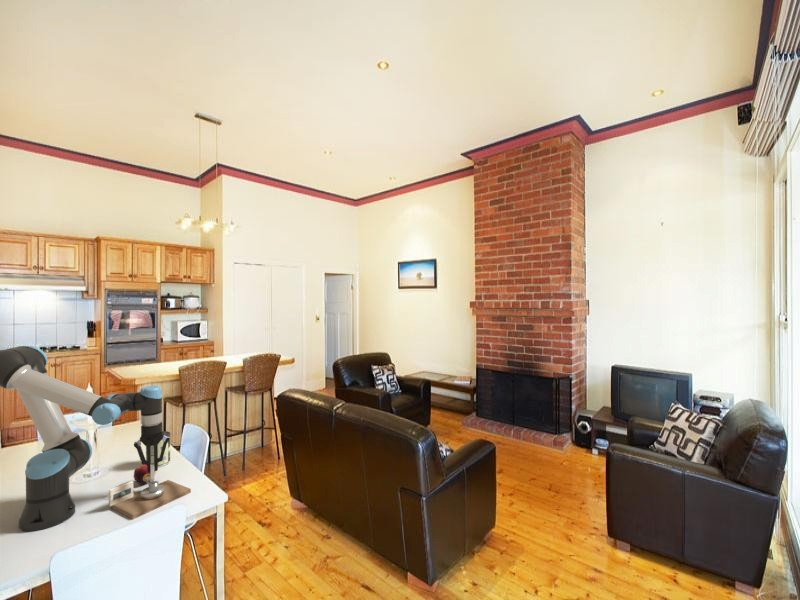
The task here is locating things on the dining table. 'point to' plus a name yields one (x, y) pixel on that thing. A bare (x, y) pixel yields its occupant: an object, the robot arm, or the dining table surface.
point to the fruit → (140, 474)
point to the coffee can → (166, 454)
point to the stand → (135, 506)
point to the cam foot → (151, 488)
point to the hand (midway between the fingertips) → (152, 478)
